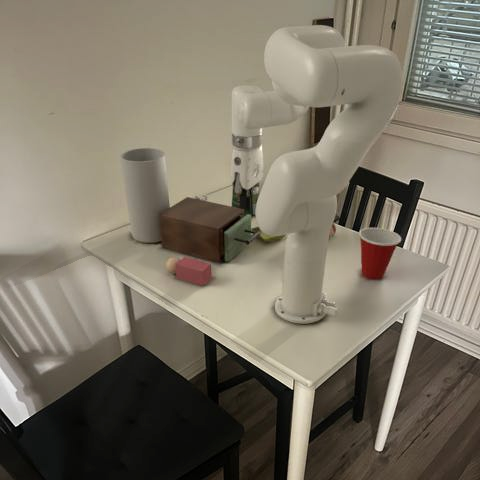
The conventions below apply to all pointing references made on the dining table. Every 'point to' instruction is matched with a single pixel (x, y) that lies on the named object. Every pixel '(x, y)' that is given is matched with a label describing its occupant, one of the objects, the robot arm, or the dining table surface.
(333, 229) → the figurine character
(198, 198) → the soldier figure
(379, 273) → the plastic cup
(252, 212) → the coffee jar
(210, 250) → the cabinet
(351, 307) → the dining table surface
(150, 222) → the cylinder vase
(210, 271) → the pink block on ball
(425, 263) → the dining table surface
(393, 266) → the dining table surface
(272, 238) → the green square tray
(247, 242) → the drawer
